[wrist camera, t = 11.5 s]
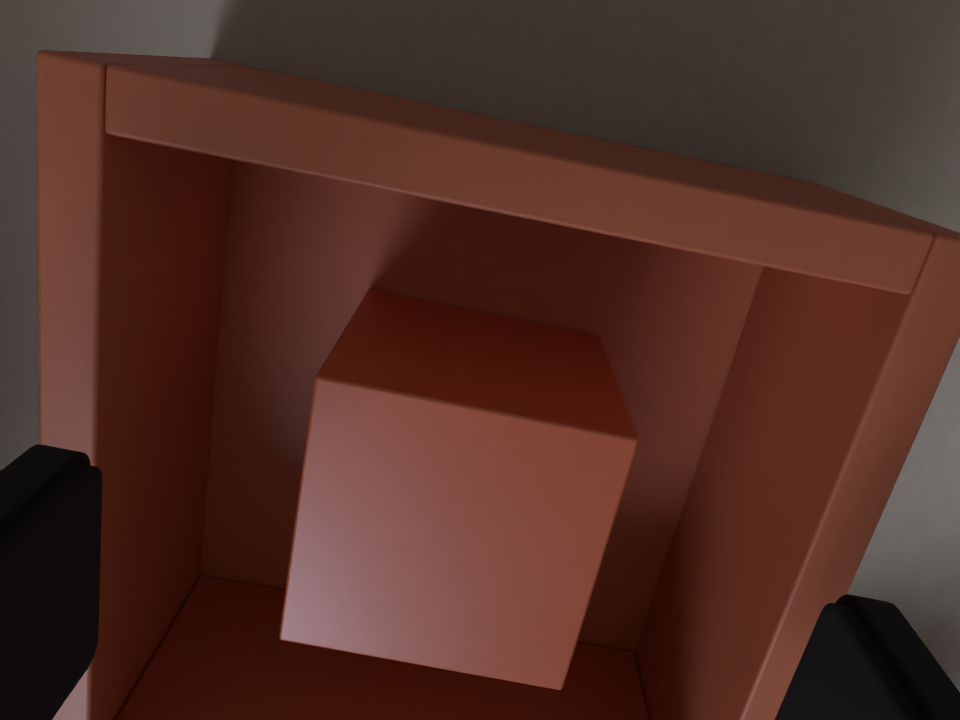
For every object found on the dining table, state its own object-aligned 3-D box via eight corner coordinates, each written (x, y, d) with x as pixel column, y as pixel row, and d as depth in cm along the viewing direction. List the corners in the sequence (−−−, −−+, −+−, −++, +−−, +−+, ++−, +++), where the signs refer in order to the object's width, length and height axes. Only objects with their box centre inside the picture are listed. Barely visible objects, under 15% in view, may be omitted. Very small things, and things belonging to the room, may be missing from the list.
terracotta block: (600, 334, 15) (641, 439, 11) (546, 532, 17) (562, 692, 12) (368, 287, 15) (314, 374, 11) (335, 492, 16) (277, 640, 12)
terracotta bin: (820, 184, 15) (1001, 246, 9) (654, 664, 19) (715, 897, 13) (208, 57, 14) (32, 49, 9) (173, 580, 18) (39, 787, 13)
